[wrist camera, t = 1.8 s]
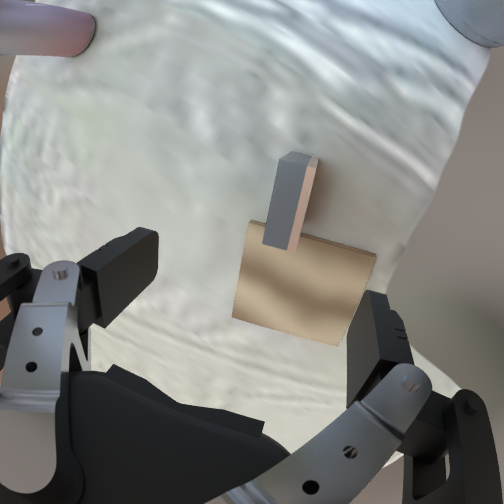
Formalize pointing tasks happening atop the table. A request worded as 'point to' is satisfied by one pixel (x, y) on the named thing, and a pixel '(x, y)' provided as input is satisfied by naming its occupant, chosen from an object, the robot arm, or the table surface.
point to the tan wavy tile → (301, 286)
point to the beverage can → (43, 29)
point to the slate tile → (289, 200)
